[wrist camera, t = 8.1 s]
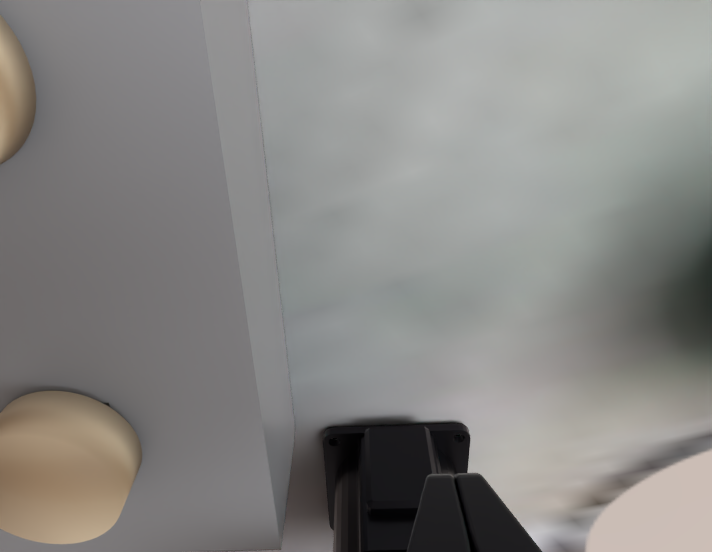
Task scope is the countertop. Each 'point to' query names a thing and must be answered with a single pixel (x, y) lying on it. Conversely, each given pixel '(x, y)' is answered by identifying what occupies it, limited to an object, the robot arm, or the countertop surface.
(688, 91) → the countertop surface
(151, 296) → the housing
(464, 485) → the robot arm
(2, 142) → the near cap
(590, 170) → the countertop surface
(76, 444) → the far cap
